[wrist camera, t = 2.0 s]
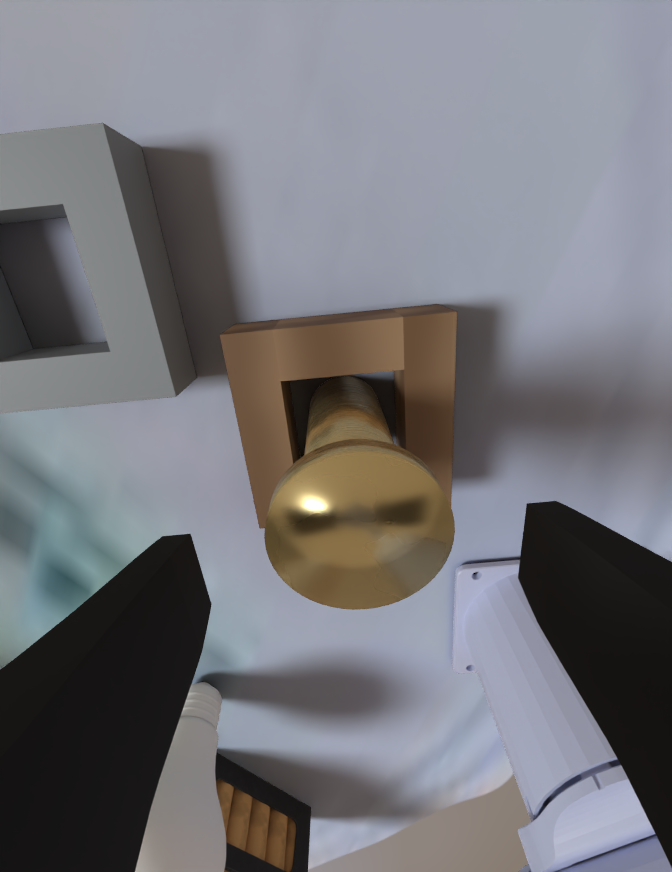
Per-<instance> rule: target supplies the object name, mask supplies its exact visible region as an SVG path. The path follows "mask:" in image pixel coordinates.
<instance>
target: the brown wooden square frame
mask: <svg viewBox="0 0 672 872" xmlns="http://www.w3.org/2000/svg"><path fill="white" fill-rule="evenodd" d="M456 327H457V312H456V311H454V310H451V309H449V308H446V307H444V306H441V305H439V304H433V305H423V306H413V307H403V308H393V309H383V310H372V311H362V312H352V313H342V314H332V315H321V316H311V317H301V318H291V319H281V320H270V321H260V322H250V323H240V324H234V325H233V326H232V327H230V328H229V329H227V330H226V331H224V332H223V333H222V334H220V340H221V344H222V349H223V354H224V359H225V364H226V368H227V373H228V378H229V383H230V388H231V393H232V397H233V402H234V407H235V412H236V417H237V422H238V426H239V431H240V436H241V441H242V446H243V451H244V455H245V460H246V465H247V470H248V475H249V480H250V484H251V489H252V494H253V499H254V504H255V509H256V513H257V518H258V523H259V528H265V525H266V520H267V515H268V511H269V507H270V502H271V498H272V495H273V493H274V490H275V488H276V486H277V484H278V482H279V480H280V479H281V477H282V476H283V475H284V473H285V472H286V471H287V470H288V469H289V468H290V467H291V466H292V465H293V464H294V463H295V462H296V461H297V460H299V459H300V452H299V445H298V438H297V431H296V424H295V417H294V410H293V404H292V397H291V390H290V383H289V381H290V380H300V379H311V378H321V377H332V376H342V375H353V374H363V373H374V372H384V371H394V385H395V415H396V444H397V446H399V447H401V448H403V449H405V450H407V451H409V452H411V453H412V454H414V455H415V456H417V457H418V458H419V459H421V460H422V461H423V462H424V463H425V464H426V465H427V466H428V467H429V468H430V470H431V471H432V472H433V473H434V475H435V477H436V478H437V480H438V482H439V484H440V486H441V488H442V489H443V491H444V493H445V495H446V497H447V499H448V502H449V504H450V507H451V494H452V460H453V427H454V394H455V360H456Z"/></svg>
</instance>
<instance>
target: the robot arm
mask: <svg viewBox="0 0 672 872" xmlns="http://www.w3.org/2000/svg"><path fill="white" fill-rule="evenodd" d="M475 572H478V573H477V574H473V573H475ZM210 609H211V601H210V598H209V595H208V591H207V588H206V585H205V581H204V578H203V574H202V571H201V568H200V564H199V561H198V558H197V554H196V551H195V547H194V544H193V541H192V537H191V534H184V535H173V536H162V537H161V538H160V539H159V540H157V541H156V542H155V543H153V544H152V545H151V546H150V547H148V548H147V549H146V550H145V551H144V552H142V553H141V554H140V555H139V556H138V557H137V558H135V559H134V560H133V561H132V562H131V563H130V564H128V565H127V566H126V567H125V568H124V569H123V570H122V571H120V572H119V573H118V574H117V575H116V576H115V577H113V578H112V579H111V580H110V581H109V582H108V583H106V584H105V585H104V586H103V587H102V588H101V589H99V590H98V591H97V592H96V593H95V594H94V595H92V596H91V597H90V598H89V599H88V600H87V601H85V602H84V603H83V604H82V605H81V606H80V607H78V608H77V609H76V610H75V611H74V612H72V613H71V614H70V615H69V616H68V617H66V618H65V619H64V620H63V621H61V622H60V623H59V624H58V625H56V626H55V627H54V628H53V629H51V630H50V631H49V632H48V633H46V634H45V635H44V636H43V637H41V638H40V639H39V640H38V641H36V642H35V643H34V644H33V645H31V646H30V647H29V648H28V649H26V650H25V651H24V652H23V653H21V654H20V655H19V656H18V657H16V658H15V659H14V660H13V661H11V662H10V663H9V664H7V665H6V666H5V667H3V668H2V669H1V670H0V872H135V870H136V866H137V862H138V857H139V853H140V849H141V845H142V841H143V837H144V833H145V829H146V825H147V821H148V817H149V813H150V809H151V806H152V803H153V799H154V796H155V793H156V789H157V786H158V783H159V779H160V776H161V773H162V770H163V767H164V764H165V761H166V758H167V755H168V752H169V749H170V746H171V743H172V740H173V737H174V734H175V731H176V728H177V725H178V722H179V719H180V716H181V713H182V711H183V708H184V705H185V702H186V699H187V696H188V693H189V690H190V687H191V684H192V681H193V677H194V674H195V671H196V668H197V665H198V662H199V659H200V656H201V653H202V648H203V644H204V639H205V635H206V630H207V625H208V620H209V615H210ZM452 666H453V670H454V671H455V672H456V673H458V674H466V673H477V674H478V676H479V679H480V682H481V685H482V687H483V690H484V693H485V696H486V698H487V701H488V704H489V707H490V709H491V712H492V715H493V718H494V720H495V723H496V726H497V729H498V731H499V734H500V737H501V740H502V742H503V745H504V748H505V751H506V753H507V756H508V759H509V762H510V764H511V767H512V770H513V773H514V775H515V778H516V781H517V784H518V786H519V789H520V792H521V795H522V797H523V800H524V803H525V806H526V808H527V811H528V814H529V817H530V819H531V822H530V823H529V824H527V825H525V826H523V827H521V828H519V830H518V833H519V836H520V839H521V842H522V845H523V848H524V851H525V854H526V857H527V860H528V863H529V864H528V865H526V866H524V867H523V868H521V870H519V872H672V562H671V561H669V560H667V559H665V558H663V557H661V556H659V555H657V554H655V553H654V552H652V551H650V550H648V549H646V548H644V547H642V546H640V545H639V544H637V543H635V542H633V541H631V540H629V539H628V538H626V537H624V536H622V535H620V534H618V533H617V532H615V531H613V530H611V529H609V528H607V527H606V526H604V525H602V524H600V523H598V522H596V521H594V520H593V519H591V518H589V517H587V516H585V515H583V514H581V513H579V512H578V511H576V510H574V509H572V508H570V507H568V506H566V505H563V504H561V503H559V502H557V501H551V502H540V503H529V504H527V507H526V516H525V524H524V532H523V540H522V548H521V556H520V560H511V561H499V562H488V563H476V564H465V565H461V566H460V567H458V568H457V569H456V572H455V592H454V619H453V645H452Z"/></svg>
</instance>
